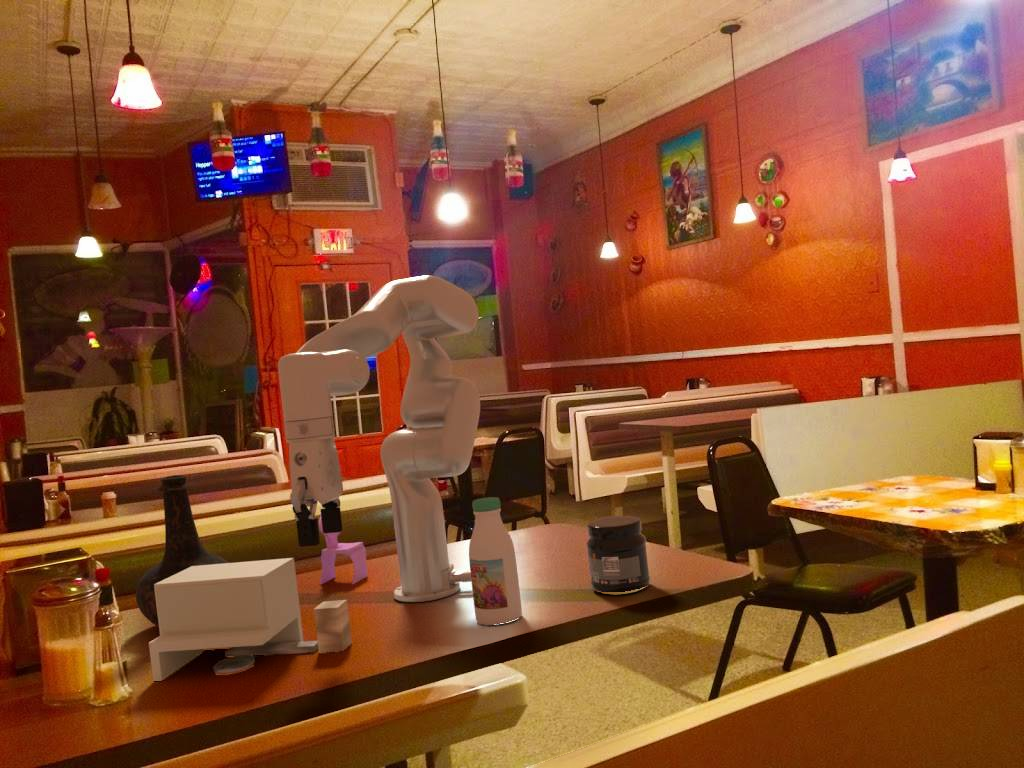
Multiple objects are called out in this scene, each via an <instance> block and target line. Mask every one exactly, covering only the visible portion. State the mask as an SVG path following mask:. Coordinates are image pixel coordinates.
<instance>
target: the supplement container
mask: <svg viewBox="0 0 1024 768" xmlns="http://www.w3.org/2000/svg"><path fill="white" fill-rule="evenodd" d="M586 528H587V529H586V530H587V535H588V536H589V538H588V539H587V541H586V544H585V545H586V546H585V547H586V550H587V556H588V566H589V567H588V568H589V574H590V575H589V577H590V585H591V588H592V589H594V591H595V590H597V591H601V592H625V591H631V590H635V589H640V588H642V587H645V586H647V585H648V584H649V585H650V582H651V579H650V572H649V564H648V555H647V554H648V553H647V545H646V543H647V539H646V538H647V537H646V536H645V535H644V534H643V533H642V532H641V531H642V528H643V527H642V520H641V518H639V517H637V516H631V515H616V516H605V517H601V518H597V519H593V520H590V521H589V522H588V523H587V525H586ZM649 585H648V586H649ZM648 586H647V587H648Z"/></svg>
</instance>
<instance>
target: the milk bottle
mask: <svg viewBox="0 0 1024 768" xmlns="http://www.w3.org/2000/svg"><path fill="white" fill-rule="evenodd" d="M471 505H472V506H471V507H472V512H473V513H472V514H473V515H474V520H475V521H474V526H473V529H472V530H473V531H472V533H471V537H470V539H469V547H468V559H469V569H470V570H469V571H470V572H471V589H472V598H473V607H474V608H473V609H474V615H475V620H476V622H477V623H478V624H479V623H480V624H479V625H482V624H484V625H483V626H488V625H494V624H500V623H506V622H509V621H512V620H515V619H517V618H519V617H520V616H521V617H522V615H523V610H522V609H523V608H522V601H521V590H520V583H519V581H520V580H519V573H518V565H517V558H516V552H515V546H514V542H513V539H512V537H511V535H510V533H509V532H508V530H507V527H506V526H505V525H504V522H503V520H502V517H501V511H502V508H501V501H500V497H494V496H490V497H482V498H477V499H475V500H473V501H472V503H471Z"/></svg>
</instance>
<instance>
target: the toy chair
mask: <svg viewBox="0 0 1024 768" xmlns="http://www.w3.org/2000/svg"><path fill="white" fill-rule="evenodd" d="M318 528H319V532H320V533H321V534H322V535H324V540H325V543H326V548H324V549H322V550H321V555H320V562H321V575H320V579H319V582H318V586H321V585H324V584H325V583H327V582H329V581H331V580H333V579H335V578H336V577H337V576H336V570H335V569H336V567H335V564H336V563H335V562H336V557H337V554H339V555H347V556H349V557H350V560H351V561H352V564H353V568H354V571H353V572H354V573H353V578H352V582H351V585H354V584H356V583H358V582H360V581H362V580H363V579H365V578H367V577H368V576H369V575H368V567H367V549H366V547H365V546H364V541H358V542H348V543H347V542H339V541H338V536H339V534H341V532H336V533H323V528H322V519H321V515H320V516H319V519H318Z"/></svg>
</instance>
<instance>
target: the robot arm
mask: <svg viewBox="0 0 1024 768" xmlns="http://www.w3.org/2000/svg"><path fill="white" fill-rule="evenodd" d="M479 316H480V315H479V309H478V305H477V303H476V301H475V299H474V298H473V296H472V295H471V294H470V293H468V292H467V291H466V290H464V289H463V288H461V287H459V286H457V285H455V284H453V283H452V282H450V281H448V280H447V279H443V278H442V277H439V276H435V275H430V274H427V275H426V274H425V275H421V276H413V277H408V278H403V279H402V278H401V279H396V280H392V281H390V282H387V283H386V284H384V285H383V286H381V287H380V288H379V289H378V290H377V291H376V292H375V293H374V294H373V295H372V296H371V297H370V298H369V299H368V300H367V301H366V302H365V303H364V304H363V305H362V307H360V309H359V310H357V312H356V313H354V314H352V315H351V316H349V317H347V318H345V319H343V320H342V321H341V320H340V322H338V323H336V324H334V325H333V326H331V327H329V328H327V329H326V330H324V331H322V332H320V333H318V334H316V335H315V336H314V337H312V338H311V339H309V340H307V342H305V343H304V344H303V345H302V346H301V347H300V348H299V349H298V350H297V351H296V352H295V353H288V354H285V355H283V356H281V357H280V358H279V360H278V362H277V363H278V364H277V369H278V370H277V371H278V380H279V387H280V388H279V389H280V397H281V406H282V414H283V415H282V417H283V426H284V433H285V442H286V443H285V444H288V445H289V447H288V448H289V451H288V453H289V457H288V458H289V475H290V486H291V487H290V488H291V489H290V490H291V492H290V494H289V500H290V503H291V505H292V511H293V514H294V521H295V522H296V523H295V524H296V532H297V539H298V546H299V547H301V548H304V547H314V546H319V545H320V544H321V539H320V529H319V519H318V518H316V514H317V506H318V503H319V504H320V505H321V508H320V509H319V510H320V516H321V519H322V528H323V533H336V532H340V533H342V532H343V523H342V512H341V500H340V497H341V496H342V494H343V492H344V485H343V478H342V472H341V465H340V459H339V454H338V449H337V446H336V442H335V438H336V434H335V426H334V425H335V423H334V417H333V415H334V414H333V405H332V398H331V397H339V396H340V397H341V396H348V395H352V394H356V393H358V392H360V391H362V389H364V388H365V387H366V385H367V384H368V382H369V379H370V375H371V374H370V373H371V372H370V366H369V363H368V361H367V359H369V358H371V357H373V356H376V355H379V354H381V353H383V352H385V351H386V350H388V349H390V347H391V346H392V345H393V344H394V342H395V341H396V340H397V339H398V337H399V336H400V335H402V338H403V340H404V342H405V346H406V347H407V348H406V349H407V350H408V354H409V357H410V365H409V371H408V375H407V379H406V381H405V382H406V383H405V387H404V391H403V394H402V399H401V403H400V418H401V420H402V422H403V423H404V425H406V426H407V427H410V428H405V429H399V430H396V431H393V432H392V433H390V434H388V435H387V436H386V437H385V438H384V440H383V442H382V444H381V446H380V460H381V463H382V464H381V465H382V469H383V470H384V471H383V472H384V475H385V478H386V481H387V484H388V488H389V489H388V490H389V493H390V500H391V507H392V516H393V517H392V518H393V525H394V526H393V528H394V534H395V542H396V553H397V561H398V569H399V578H400V586H398V587H396V588H395V590H394V591H393V597H394V599H395V600H397V601H399V602H404V603H420V602H423V603H424V602H430V601H435V600H440V599H442V598H443V599H445V598H447V597H449V596H452V595H454V594H455V593H457V592H458V591H459V590H460V588H461V586H460V583H461V582H462V583H468V582H469V583H470V582H471V572H470V570H469V569H461V570H457V569H456V568H455V569H454V563H450V560H449V552H448V544H447V543H448V542H447V534H446V525H445V517H444V507H443V500H442V496H441V494H440V491H439V490H438V488H437V487H436V485H435V483H434V482H433V481H432V479H433V478H436V479H437V478H448V477H451V478H452V477H457V476H460V475H462V474H463V473H465V472H466V471H467V469H468V468H469V466H470V463H471V461H472V457H473V452H474V446H475V441H476V437H477V436H476V435H477V431H478V425H479V421H480V415H481V414H480V413H481V397H480V393H479V390H478V387H477V386H476V384H475V383H474V382H473V381H472V380H470V379H469V378H466V377H463V376H461V377H460V376H459V377H458V376H457V377H452V372H453V364H452V360H451V358H450V357H449V355H448V353H447V352H446V351H445V350H444V349H443V348H442V347H441V345H439V343H438V342H437V338H438V339H439V338H445V337H446V338H447V337H451V336H452V337H453V336H459V335H465V334H468V333H470V332H472V331H473V330H474V329H475V328H476V326H477V324H478V321H479ZM471 583H472V582H471Z"/></svg>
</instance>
